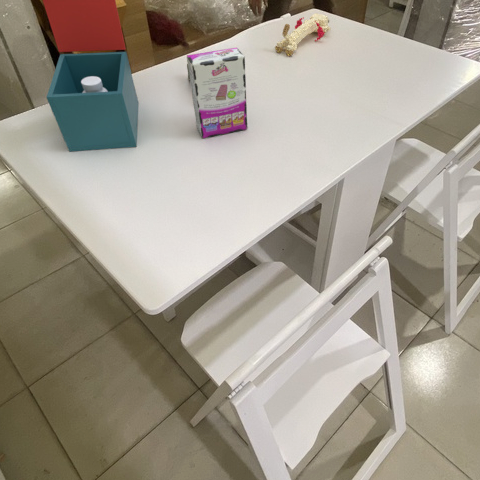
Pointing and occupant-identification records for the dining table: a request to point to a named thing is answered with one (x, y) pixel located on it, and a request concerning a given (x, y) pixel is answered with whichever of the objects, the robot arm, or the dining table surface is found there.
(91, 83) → the supplement bottle
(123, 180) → the dining table surface
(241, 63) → the candy bar box
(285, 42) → the fuzzy plush toy
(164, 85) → the dining table surface
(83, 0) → the lid
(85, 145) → the teal open box
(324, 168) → the dining table surface
